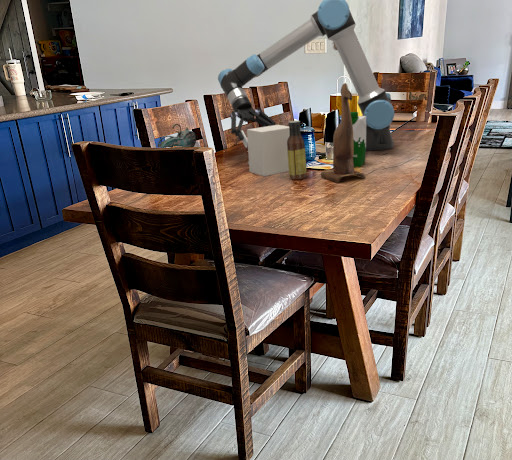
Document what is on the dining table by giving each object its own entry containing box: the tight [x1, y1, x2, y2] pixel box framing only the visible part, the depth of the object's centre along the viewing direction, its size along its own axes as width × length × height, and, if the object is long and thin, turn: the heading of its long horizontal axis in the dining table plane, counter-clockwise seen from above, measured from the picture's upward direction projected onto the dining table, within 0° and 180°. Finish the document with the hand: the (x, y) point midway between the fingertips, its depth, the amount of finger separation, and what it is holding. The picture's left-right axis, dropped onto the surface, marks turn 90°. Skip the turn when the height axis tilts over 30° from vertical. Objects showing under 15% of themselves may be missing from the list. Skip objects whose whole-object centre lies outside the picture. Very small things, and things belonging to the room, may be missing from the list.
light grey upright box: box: [246, 124, 290, 177], centre depth 196 cm, size 22×16×16 cm
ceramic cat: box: [157, 123, 197, 148], centre depth 186 cm, size 20×6×20 cm, turn 145°
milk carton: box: [350, 111, 367, 168], centre depth 191 cm, size 9×9×20 cm
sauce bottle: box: [287, 120, 308, 180], centre depth 177 cm, size 7×6×20 cm
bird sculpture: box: [320, 82, 366, 184], centre depth 171 cm, size 11×12×32 cm
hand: (262, 143), depth 202 cm, fingers open, 13 cm apart
